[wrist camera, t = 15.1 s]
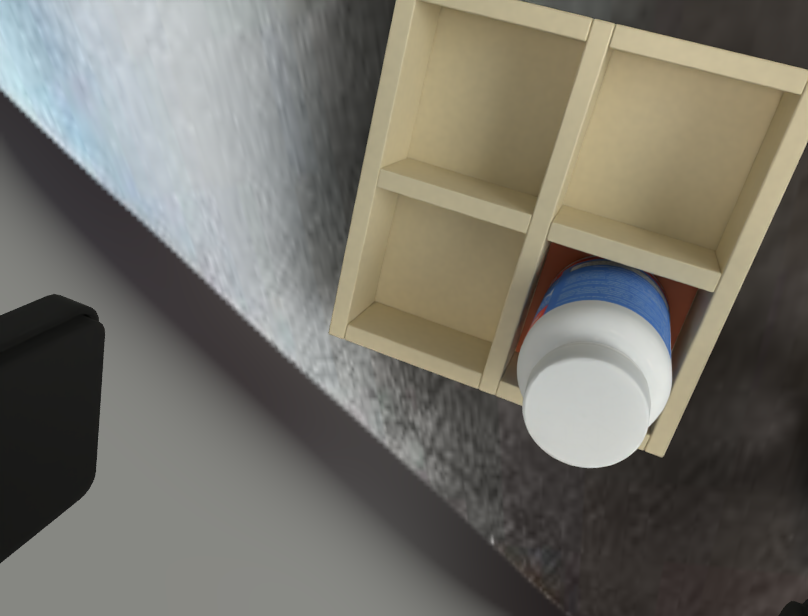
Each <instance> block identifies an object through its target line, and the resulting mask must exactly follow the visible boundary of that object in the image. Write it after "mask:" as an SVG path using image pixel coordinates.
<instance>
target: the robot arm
mask: <svg viewBox="0 0 808 616" xmlns="http://www.w3.org/2000/svg"><path fill="white" fill-rule="evenodd" d="M104 339H105V329H104V327H103V324H101V323H100V322H99V317H98V315H97V313H96V311H95V310H94V309H93V308H91V307H89V306H86V305H84V304H81V303H79V302H76V301H73V300H71V299H68V298H66V297H63V296H61V295H56V294H53V295H49V296H46V297H43V298H41V299H39V300H36V301H34V302H31V303H29V304H27V305H24V306H22V307H19V308H17V309H15V310H13V311H10V312H8V313H5V314H3V315H0V563H1V562H2V561H4V560H5V559H6V558H7V557H9V556H10V555H11V554H12V553H14V552H15V551H16V550H17V549H19V548H20V547H21V546H22V545H24V544H25V543H26V542H27V541H29V540H30V539H31V538H32V537H34V536H35V535H36V534H37V533H38V532H40V531H41V530H42V529H43V528H45V527H46V526H47V525H48V524H50V523H51V522H52V521H53V520H55V519H56V518H57V517H58V516H60V515H61V514H62V513H63V512H64V511H66V510H67V509H68V508H70V507H71V506H72V505H73V504H74V503H76V502H77V501H78V500H80V499H81V498H82V497H83V496H84V495H85V494H86V492H87V491H88V490H89V488H90V487H91V484H92V483H93V480H94V478H95V473H96V460H97V446H98V431H99V415H100V401H101V385H102V371H103V354H104ZM779 616H808V599H807V600H806V601H805V602H804V603H803V604H800V603H798V602H795V601H791V602H789V603H788V604H787V605H786V606H785V607H784V608H783V610H782V611H781V613H780V614H779Z"/></svg>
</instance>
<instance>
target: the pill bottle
mask: <svg viewBox="0 0 808 616" xmlns="http://www.w3.org/2000/svg"><path fill="white" fill-rule="evenodd" d="M517 379H518V385H519V388H520V392H521V394H522V397H523V405H522V412H523V417H524V421H525V424H526V427H527V430H528V432H529V434H530V435H531V437H532V438H533V440H534V441H535V442H536V443H537V444H538V445H539V446H540V448H541V449H542V450H544V451H545V452H546V453H547V454H549V455H550V456H552V457H553V458H555V459H557V460H559V461H561V462H564V463H566V464H569V465H572V466H577V467H583V468H599V467H606V466H610V465H613V464H616V463H618V462H620V461H622V460H624V459H625V458H627V457H628V456H630V455H631V454H632V453H633V452H634V451H635V450H636V449H637V448H638V447H639V446H640V445H641V443H642V441H643V440H644V437H645V435H646V433H647V430H648V427H649V426H650V425H651V424H652V423H653V422H654V421H655V420H656V419H657V418H658V416H659V415H660V414H661V412H662V411H663V409H664V407H665V406H666V403H667V401H668V398H669V396H670V392H671V387H672V362H671V333H670V310H669V303H668V299H667V296H666V294H665V291H664V289H663V287H662V286H661V284H660V283H659V281H658V280H657V279H656V277H655V276H654V275H653V274H652V273H649V272H645V271H642V270H639V269H636V268H633V267H630V266H626V265H623V264H620V263H617V262H614V261H611V260H607V259H604V258H601V257H598V256H595V255H594V256H589V257H585V258H582V259H580V260H578V261H575V262H573V263H572V264H570V265H568V266H567V267H566V268H564V269H563V270H562V271H561V272H560V273H559V274H558V275H557V276H556V277H555V278H554V279H553V281H552V282H551V284H550V285H549V287H548V289H547V291H546V293H545V295H544V297H543V300H542V302H541V304H540V306H539V308H538V311H537V313H536V315H535V317H534V320H533V322H532V324H531V326H530V328H529V330H528V332H527V335H526V337H525V339H524V341H523V344H522V346H521V349H520V352H519V356H518V362H517Z"/></svg>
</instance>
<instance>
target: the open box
mask: <svg viewBox="0 0 808 616" xmlns="http://www.w3.org/2000/svg"><path fill="white" fill-rule="evenodd" d="M807 142H808V70H807V69H803V68H798V67H794V66H790V65H786V64H782V63H778V62H774V61H769V60H765V59H761V58H757V57H753V56H749V55H744V54H740V53H736V52H732V51H728V50H724V49H719V48H715V47H711V46H707V45H703V44H699V43H695V42H690V41H686V40H682V39H678V38H674V37H670V36H665V35H661V34H657V33H653V32H649V31H645V30H640V29H636V28H632V27H628V26H624V25H620V24H616V25H615V24H614V23H611V22H607V21H603V20H599V19H592V18H591V17H586V16H582V15H578V14H574V13H570V12H566V11H561V10H557V9H553V8H549V7H545V6H541V5H536V4H532V3H528V2H524V1H520V0H396V3H395V8H394V13H393V18H392V23H391V27H390V32H389V37H388V42H387V47H386V52H385V57H384V62H383V67H382V72H381V77H380V82H379V87H378V92H377V97H376V101H375V106H374V111H373V116H372V121H371V126H370V131H369V136H368V141H367V146H366V151H365V156H364V161H363V166H362V171H361V176H360V180H359V185H358V190H357V195H356V200H355V205H354V210H353V215H352V220H351V225H350V230H349V235H348V240H347V245H346V250H345V255H344V259H343V264H342V269H341V274H340V279H339V284H338V289H337V294H336V299H335V304H334V309H333V314H332V319H331V324H330V329H329V334H330V335H333V336H336V337H339V338H341V339H344V338H345V340H347V341H350V342H353V343H355V344H358V345H361V346H363V347H366V348H369V349H371V350H374V351H377V352H379V353H382V354H385V355H387V356H390V357H393V358H396V359H398V360H401V361H404V362H406V363H409V364H412V365H414V366H417V367H420V368H422V369H425V370H428V371H430V372H433V373H436V374H439V375H441V376H444V377H447V378H449V379H452V380H455V381H457V382H460V383H463V384H465V385H468V386H471V387H473V388H478V387H479V390H482V391H484V392H487V393H490V394H492V395H495V394H496V396H498V397H500V398H503V399H506V400H508V401H511V402H514V403H516V404H519V405H523V397H522V394H521V392H520V388H519V385H518V379H517V362H518V356H519V352H520V349H521V346H522V344H523V341H524V339H525V337H526V335H527V332H528V330H529V328H530V326H531V324H532V322H533V320H534V317H535V315H536V313H537V311H538V308H539V306H540V304H541V302H542V300H543V297H544V295H545V293H546V291H547V289H548V287H549V285H550V284H551V282H552V281H553V279H554V278H555V277H556V276H557V275H558V274H559V273H560V272H561V271H562V270H563V269H564V268H566V267H567V266H568V265H570V264H572V263H573V262H575V261H578V260H580V259H582V258H585V257H589V256H594V255H595V256H598V257H601V258H604V259H607V260H611V261H614V262H617V263H620V264H623V265H626V266H630V267H633V268H636V269H639V270H642V271H645V272H649V273H652V274H653V275H654V276H655V277H656V279H657V280H658V281H659V283H660V284H661V286H662V287H663V289H664V291H665V294H666V296H667V299H668V303H669V310H670V333H671V362H672V387H671V392H670V396H669V398H668V401H667V403H666V406H665V407H664V409H663V411H662V412H661V414H660V415H659V416H658V418H657V419H656V420H655V421H654V422H653V423H652V424H651V425H650V426H649V427H648V430H647V433H646V435H645V437H644V440H643V441H642V443H641V445H640V446H639V447H638V448H637V449H640V450H644V449H645V451H646V452H648V453H651V454H654V455H656V456H659V457H663V456H664V454H665V452H666V450H667V448H668V446H669V444H670V441H671V439H672V437H673V435H674V433H675V430H676V428H677V426H678V424H679V422H680V419H681V417H682V415H683V413H684V411H685V409H686V406H687V404H688V402H689V400H690V398H691V395H692V393H693V391H694V389H695V387H696V385H697V382H698V380H699V378H700V376H701V374H702V371H703V369H704V367H705V365H706V363H707V361H708V358H709V356H710V354H711V352H712V350H713V347H714V345H715V343H716V341H717V339H718V336H719V334H720V332H721V330H722V328H723V326H724V323H725V321H726V319H727V317H728V315H729V312H730V310H731V308H732V306H733V304H734V302H735V299H736V297H737V295H738V293H739V291H740V288H741V286H742V284H743V282H744V280H745V278H746V275H747V273H748V271H749V269H750V267H751V264H752V262H753V260H754V258H755V256H756V254H757V251H758V249H759V247H760V245H761V243H762V240H763V238H764V236H765V234H766V232H767V229H768V227H769V225H770V223H771V221H772V219H773V216H774V214H775V212H776V210H777V208H778V205H779V203H780V201H781V199H782V197H783V195H784V192H785V190H786V188H787V186H788V184H789V181H790V179H791V177H792V175H793V173H794V171H795V168H796V166H797V164H798V162H799V160H800V157H801V155H802V153H803V151H804V149H805V146H806V144H807Z"/></svg>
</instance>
